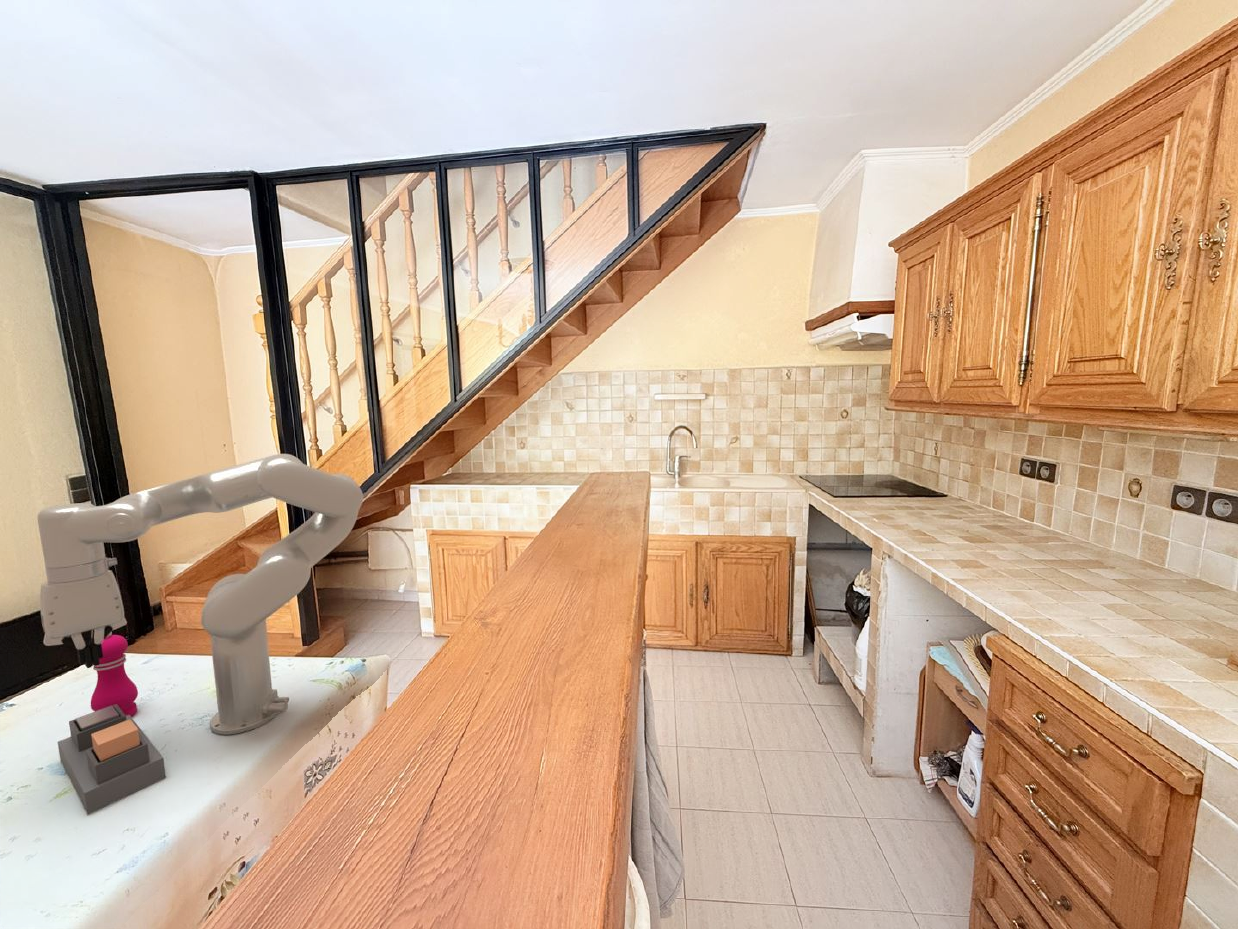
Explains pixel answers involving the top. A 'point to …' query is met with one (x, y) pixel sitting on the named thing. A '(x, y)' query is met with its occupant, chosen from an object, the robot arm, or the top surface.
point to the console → (108, 766)
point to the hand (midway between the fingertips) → (92, 664)
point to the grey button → (96, 718)
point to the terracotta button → (115, 739)
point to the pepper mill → (114, 678)
